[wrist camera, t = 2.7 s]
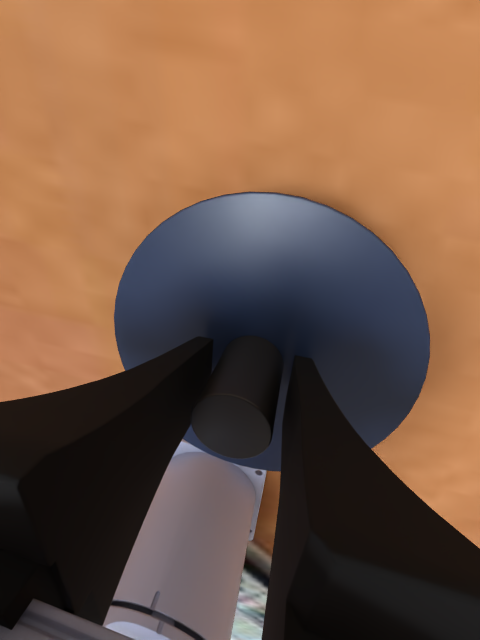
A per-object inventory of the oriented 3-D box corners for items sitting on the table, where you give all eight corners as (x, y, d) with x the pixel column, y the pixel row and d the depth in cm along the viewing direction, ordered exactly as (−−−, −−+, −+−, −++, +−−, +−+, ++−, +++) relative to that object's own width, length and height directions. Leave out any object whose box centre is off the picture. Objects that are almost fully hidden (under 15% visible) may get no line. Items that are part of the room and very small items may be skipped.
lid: (365, 479, 14) (389, 602, 9) (138, 419, 16) (76, 500, 11) (482, 213, 8) (650, 232, 4) (115, 176, 10) (-13, 163, 6)
